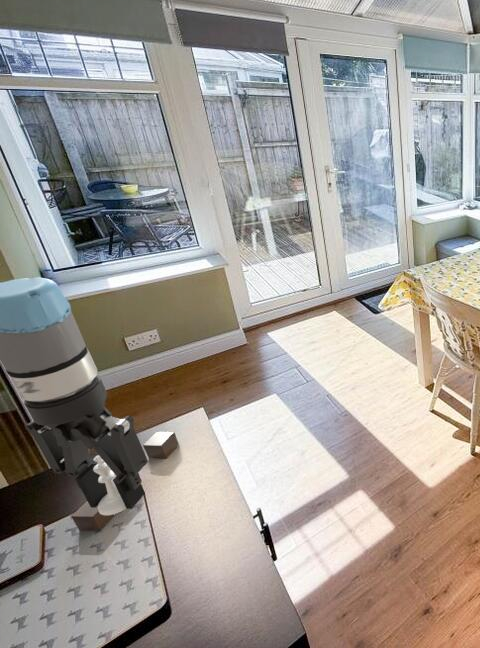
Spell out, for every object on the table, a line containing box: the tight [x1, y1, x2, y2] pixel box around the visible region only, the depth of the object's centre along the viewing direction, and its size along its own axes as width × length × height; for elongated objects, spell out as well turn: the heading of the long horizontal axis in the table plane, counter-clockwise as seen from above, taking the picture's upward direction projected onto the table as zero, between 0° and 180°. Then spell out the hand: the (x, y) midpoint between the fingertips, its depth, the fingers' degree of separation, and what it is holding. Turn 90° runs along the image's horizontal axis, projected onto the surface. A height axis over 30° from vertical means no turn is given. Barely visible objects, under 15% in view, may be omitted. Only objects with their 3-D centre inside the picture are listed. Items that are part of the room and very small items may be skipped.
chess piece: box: [92, 454, 127, 515], centre depth 65 cm, size 5×5×10 cm
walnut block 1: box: [70, 500, 116, 532], centre depth 79 cm, size 4×4×4 cm
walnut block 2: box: [142, 431, 180, 460], centre depth 94 cm, size 4×4×4 cm
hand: (118, 500), depth 67 cm, fingers closed on chess piece, 5 cm apart
